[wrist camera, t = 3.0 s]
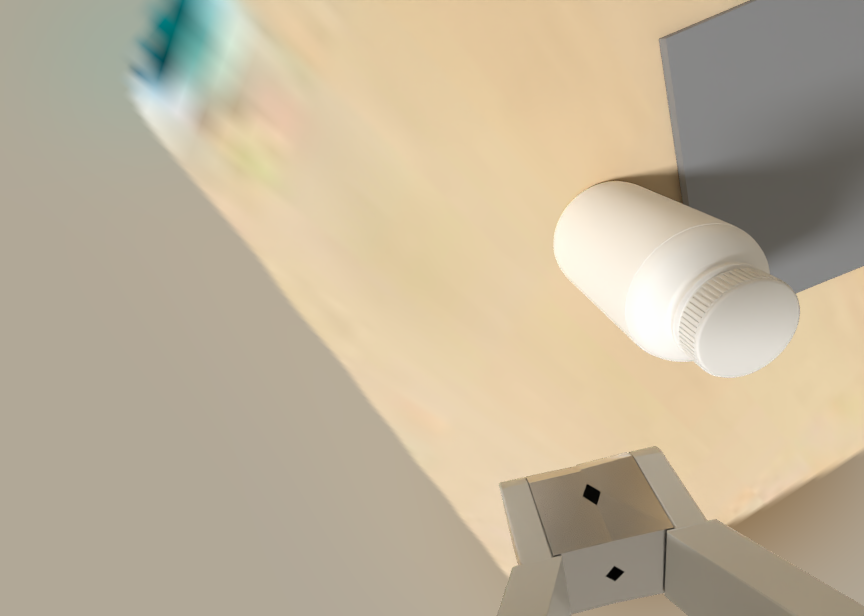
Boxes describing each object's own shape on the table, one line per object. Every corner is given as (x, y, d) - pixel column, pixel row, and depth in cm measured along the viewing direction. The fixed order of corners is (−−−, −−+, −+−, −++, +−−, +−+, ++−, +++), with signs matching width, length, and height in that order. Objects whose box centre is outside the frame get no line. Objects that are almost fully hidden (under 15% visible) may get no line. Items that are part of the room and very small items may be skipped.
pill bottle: (675, 233, 38) (852, 329, 25) (588, 304, 40) (711, 430, 27) (620, 152, 35) (790, 213, 22) (528, 233, 37) (634, 336, 23)
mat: (658, 38, 32) (666, 38, 32) (968, -93, 32) (982, -96, 31) (700, 324, 42) (706, 329, 42) (935, 229, 42) (946, 232, 41)
